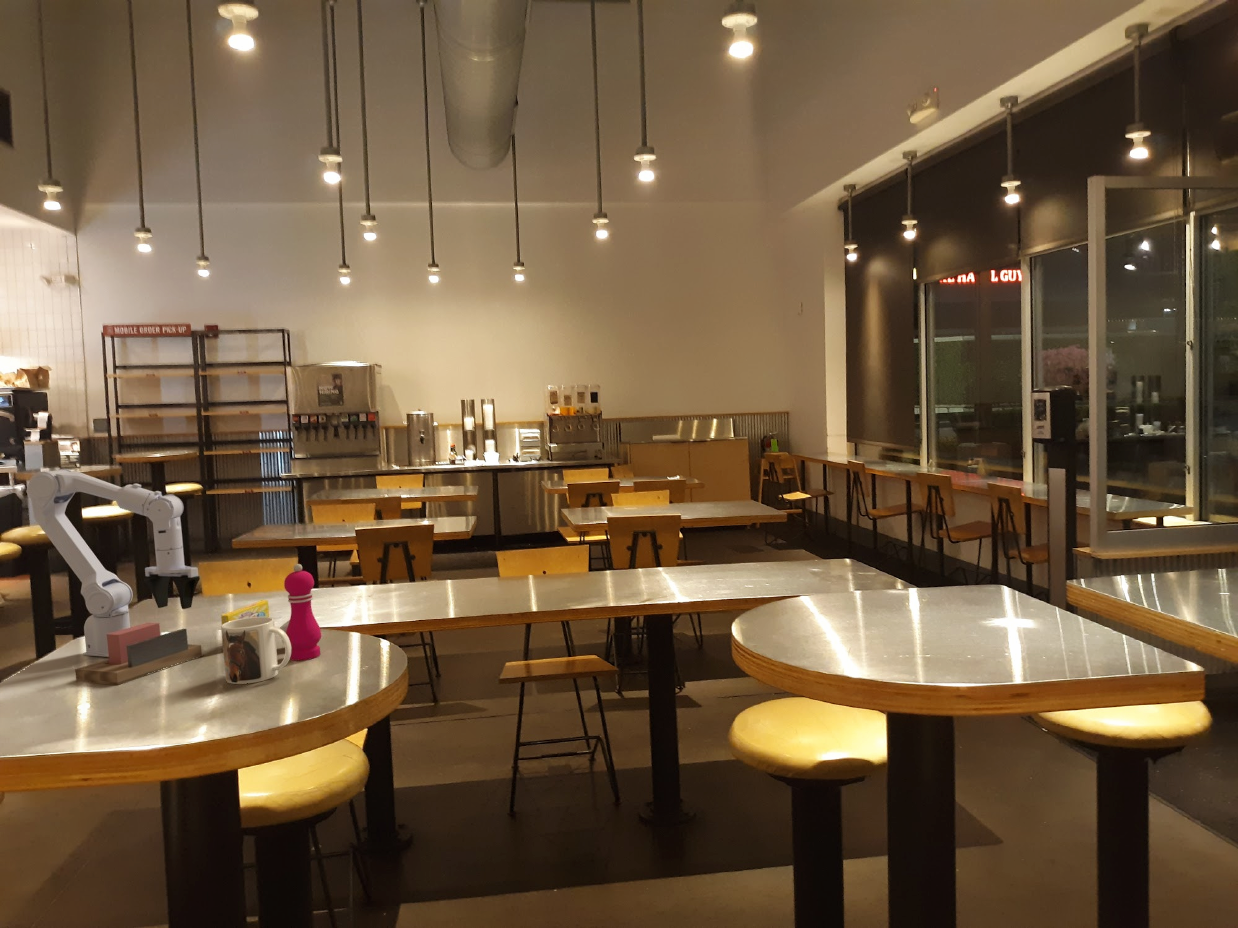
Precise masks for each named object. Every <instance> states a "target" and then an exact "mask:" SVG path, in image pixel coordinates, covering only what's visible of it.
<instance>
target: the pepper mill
mask: <svg viewBox="0 0 1238 928" xmlns="http://www.w3.org/2000/svg"><path fill="white" fill-rule="evenodd" d="M283 583H284V584H283V586H284V590H285V591H286V592H287V593H288V595H287V598H288V601H287V602H288V603H289V604H290V618H289V620H290V621H289V620H288V621H289V624H288V627H287V630H286V634H287V636H288V638H289V640H290V643H291V656H290V659H289V660H291V661H306V660H308V661H309V660H312V659H315V658H318V657H320V656H321V646H320V645H318V643H319V641H321V639H322V631H321V628H320V626H319V625H320V624H319V623H318V622H317V620H316V618H315V615H314V613H313V608H312V600H313V599H314V597H313V592H312V590H313V588H314V585H315V580H314V578H313V575H312V574H311V573H310V572H308V571H306V570H303V566H302V564H300V563H296V564H294V566H293V571H292V572H291V573H289V574H287V576H286V577H285V579H284V582H283Z"/></svg>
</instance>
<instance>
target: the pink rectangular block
mask: <svg viewBox="0 0 1238 928" xmlns="http://www.w3.org/2000/svg"><path fill="white" fill-rule="evenodd" d="M160 635H161V628H160V623H159V622H158V623H157V622H145V623H142V624H139V625H134V626H130V628H127V629H123V630H120V631H116V632H113V633H109V634H107V644H108V654H109V657H108V659H109V664H114V665H120V664H123V663H126V662H128V657H127V646H126V645H130V644H133V643H137V642H140V641H143V640H147V639H150V638H153V637H157V636H160Z"/></svg>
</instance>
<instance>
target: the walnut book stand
mask: <svg viewBox="0 0 1238 928" xmlns="http://www.w3.org/2000/svg"><path fill="white" fill-rule="evenodd" d="M202 651H203V649H202V645H201V644H189V643H188V650H185V651H182V652H179V653H176V654H172V655H169V656H166V657H163V658H160V659H157V660H154V661H151V662H148V663H145V664H142V665H139V666H136V667H133V668H130V667H128V662H126V663H123V664H120V665H114V664H109V658H107V659H104V660H100V661H97V662H95V663H91V664H87V665H84V666H81V667H78V668H75V669H74V672H75V673H74V674H75V680H76V682H81V683H82V682H83V683H90V684H91V683H93V684H102V685H112V686H113V685H114V686H119V685H122V684H125V683H128V682H131V681H134V680H136V678H137V679H139V677H140V678H142V677H141V676H143V677H145V676H144V675H146V676H148V675H147V674H148V673H152V672H154V671H158V670H161V669H163V668H166V667H169V668H171V667H170V666H171V665H175V664H177V663H181V662H184V663H186V662H185V661H187V660H190V661H192V660H191V659H193V658H196V657H199V658H201V657H200V656H202V657H203V652H202ZM196 659H197V658H196ZM193 660H194V659H193ZM187 662H188V661H187ZM181 664H182V663H181ZM175 666H176V665H175ZM166 669H167V668H166ZM163 670H164V669H163ZM161 671H162V670H161ZM158 672H159V671H158ZM152 674H153V673H152Z"/></svg>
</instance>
